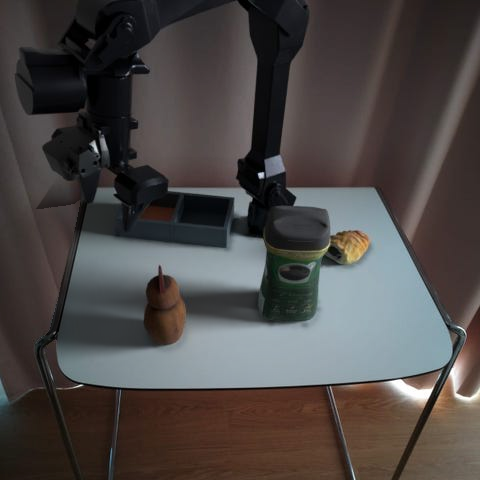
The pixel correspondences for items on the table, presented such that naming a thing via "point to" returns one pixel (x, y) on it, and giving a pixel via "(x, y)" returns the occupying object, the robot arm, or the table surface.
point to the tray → (185, 219)
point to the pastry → (347, 246)
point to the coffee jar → (293, 262)
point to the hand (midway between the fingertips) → (108, 217)
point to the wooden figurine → (164, 310)
